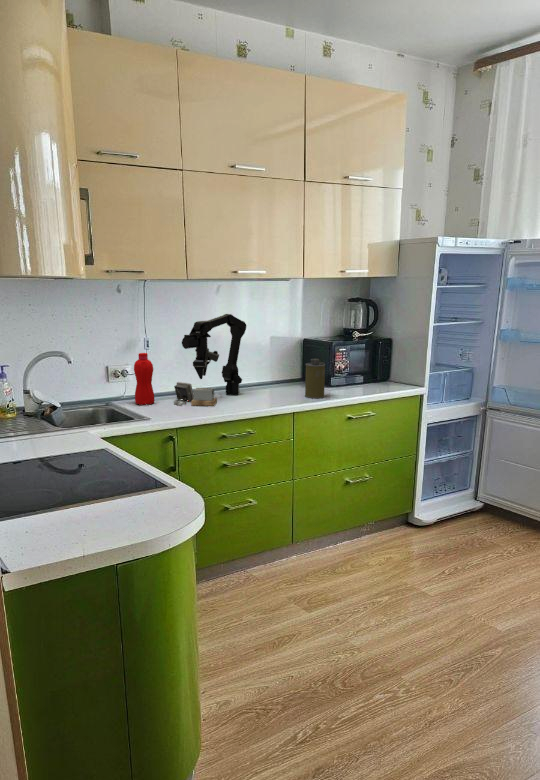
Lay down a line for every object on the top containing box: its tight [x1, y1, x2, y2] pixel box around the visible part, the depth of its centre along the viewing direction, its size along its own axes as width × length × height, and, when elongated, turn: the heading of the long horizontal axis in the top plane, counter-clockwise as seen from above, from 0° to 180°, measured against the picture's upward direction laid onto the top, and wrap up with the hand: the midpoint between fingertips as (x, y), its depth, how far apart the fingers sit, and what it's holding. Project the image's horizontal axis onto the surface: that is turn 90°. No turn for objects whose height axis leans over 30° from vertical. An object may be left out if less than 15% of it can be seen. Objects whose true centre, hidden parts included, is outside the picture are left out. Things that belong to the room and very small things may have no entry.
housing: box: [193, 387, 215, 401], centre depth 269 cm, size 6×9×6 cm, turn 85°
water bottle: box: [133, 352, 155, 406], centre depth 271 cm, size 9×11×25 cm
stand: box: [190, 397, 218, 407], centre depth 270 cm, size 11×8×2 cm
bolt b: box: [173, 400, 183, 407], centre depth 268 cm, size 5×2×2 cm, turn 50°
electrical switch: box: [173, 381, 194, 402], centre depth 279 cm, size 9×5×9 cm, turn 57°
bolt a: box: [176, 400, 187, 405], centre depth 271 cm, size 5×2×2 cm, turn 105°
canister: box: [304, 358, 326, 399], centre depth 289 cm, size 11×10×20 cm
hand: (202, 377), depth 279 cm, fingers open, 9 cm apart
